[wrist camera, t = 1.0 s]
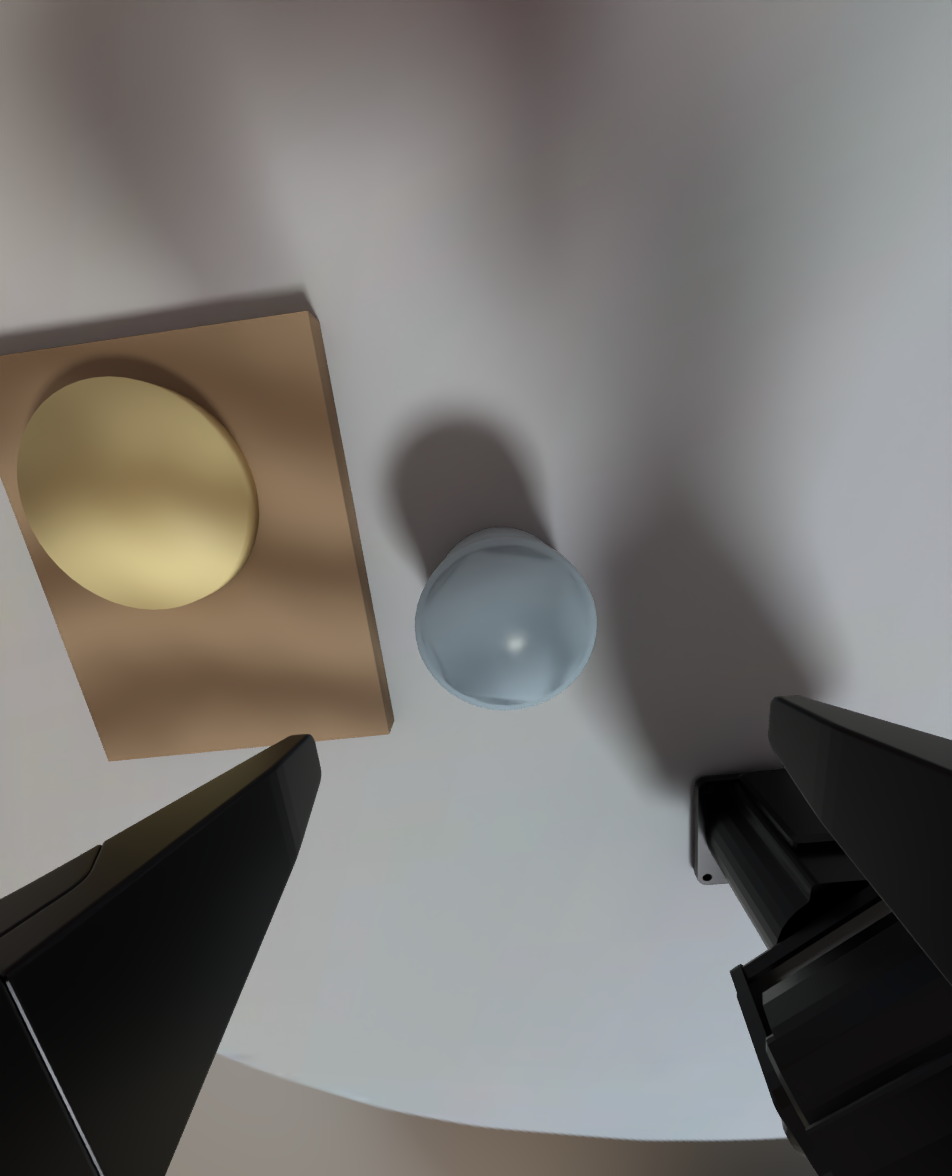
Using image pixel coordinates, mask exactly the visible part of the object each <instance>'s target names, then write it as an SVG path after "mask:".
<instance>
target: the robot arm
mask: <svg viewBox="0 0 952 1176" xmlns="http://www.w3.org/2000/svg"><path fill="white" fill-rule="evenodd" d="M768 737H769V742H770V745H771V747H772V749H773V751H774V752H775V754H776V755H777V757H778V758H779V760H780V761H781V763H782V764H783V766H784V767H785V769H780V770H769V771H758V772H747V773H736V774H724V775H713V776H704V777H700V778H699V779H698V780H697V781H696V782H695V826H694V872H695V875H696V877H697V879H698V881H699V882H700V883H701V884H703V885H713V884H726V883H729V885H730V886H731V888H732V890H733V891H734V893H735V895H736V896H737V898H738V900H739V901H740V903H741V905H742V907H743V908H744V910H745V912H746V913H747V915H748V917H749V918H750V920H751V922H752V923H753V925H754V927H755V928H756V930H757V932H758V933H759V935H760V937H761V938H762V940H763V942H764V944H765V945H766V947H767V949H768V950H767V951H765V952H764V953H762V954H761V955H759V956H757V957H756V958H754V959H753V960H751V961H750V962H748V963H747V964H745V965H744V966H743V965H742V964H740V965H738V966H736V967H735V968H733V969H732V970H730V974H731V977H732V980H733V982H734V985H735V988H736V991H737V998H738V1001H739V1004H740V1007H741V1010H742V1013H743V1016H744V1019H745V1022H746V1025H747V1028H748V1031H749V1034H750V1036H751V1039H752V1042H753V1045H754V1048H755V1051H756V1054H757V1057H758V1060H759V1063H760V1066H761V1069H762V1071H763V1074H764V1077H765V1080H766V1083H767V1086H768V1089H769V1092H770V1095H771V1098H772V1101H773V1103H774V1106H775V1108H776V1110H777V1112H778V1114H779V1115H780V1117H781V1119H782V1125H783V1129H784V1131H785V1134H786V1136H787V1138H788V1140H789V1141H790V1143H791V1145H792V1146H793V1147H794V1149H795V1150H796V1151H797V1152H798V1153H800V1154H801V1155H803V1156H804V1157H806V1158H807V1159H808V1160H809V1161H810V1163H811V1165H812V1166H813V1168H814V1169H815V1171H816V1172H817V1174H818V1175H819V1176H952V740H949V739H946V738H943V737H939V736H936V735H932V734H929V733H925V732H922V731H919V730H915V729H912V728H908V727H905V726H901V725H898V724H895V723H891V722H888V721H884V720H881V719H877V718H874V717H871V716H867V715H864V714H860V713H857V712H854V711H850V710H847V709H843V708H840V707H836V706H833V705H830V704H826V703H823V702H819V701H816V700H812V699H809V698H806V697H802V696H798V695H789V696H778V697H775V698H774V699H773V700H772V701H771V705H770V717H769V731H768ZM320 781H321V767H320V762H319V758H318V753H317V749H316V744H315V740H314V738H313V736H312V735H310V734H297V735H290V736H288V737H286V738H285V739H283V740H281V741H279V742H278V743H276V744H274V745H272V746H271V747H269V748H267V749H265V750H264V751H262V752H260V753H258V754H257V755H255V756H253V757H251V758H250V759H248V760H246V761H244V762H243V763H241V764H239V765H237V766H236V767H234V768H232V769H230V770H229V771H227V772H225V773H223V774H222V775H220V776H218V777H216V778H215V779H213V780H211V781H209V782H208V783H206V784H204V785H202V786H201V787H199V788H197V789H195V790H194V791H192V792H190V793H188V794H187V795H185V796H183V797H181V798H180V799H178V800H176V801H174V802H173V803H171V804H169V805H167V806H166V807H164V808H162V809H160V810H159V811H157V812H155V813H153V814H152V815H150V816H148V817H146V818H145V819H143V820H141V821H139V822H138V823H136V824H134V825H132V826H131V827H129V828H127V829H125V830H124V831H122V832H120V833H118V834H117V835H115V836H113V837H111V838H110V839H108V840H106V841H105V842H104V843H103V845H97V846H95V847H94V848H92V849H90V850H88V851H87V852H85V853H83V854H81V855H80V856H78V857H76V858H74V859H73V860H71V861H69V862H67V863H65V864H64V865H62V866H60V867H58V868H56V869H55V870H53V871H51V872H49V873H48V874H46V875H44V876H42V877H40V878H39V879H37V880H35V881H33V882H31V883H30V884H28V885H26V886H24V887H22V888H20V889H18V890H17V891H15V892H13V893H11V894H9V895H7V896H5V897H3V898H2V899H0V1176H165V1174H166V1172H167V1169H168V1167H169V1165H170V1162H171V1160H172V1157H173V1155H174V1153H175V1150H176V1148H177V1146H178V1143H179V1141H180V1138H181V1136H182V1134H183V1131H184V1129H185V1126H186V1124H187V1121H188V1119H189V1117H190V1114H191V1112H192V1110H193V1107H194V1105H195V1102H196V1100H197V1097H198V1095H199V1093H200V1090H201V1088H202V1085H203V1083H204V1080H205V1078H206V1076H207V1073H208V1071H209V1068H210V1066H211V1064H212V1061H213V1059H214V1057H215V1054H216V1052H217V1049H218V1047H219V1045H220V1042H221V1040H222V1037H223V1035H224V1033H225V1030H226V1028H227V1025H228V1023H229V1021H230V1018H231V1016H232V1013H233V1011H234V1008H235V1006H236V1004H237V1001H238V999H239V996H240V994H241V992H242V989H243V987H244V984H245V982H246V980H247V977H248V975H249V972H250V970H251V968H252V965H253V963H254V960H255V958H256V956H257V953H258V951H259V948H260V946H261V944H262V941H263V939H264V936H265V934H266V931H267V929H268V927H269V924H270V922H271V919H272V917H273V915H274V912H275V910H276V907H277V905H278V903H279V900H280V898H281V895H282V893H283V891H284V888H285V886H286V883H287V881H288V879H289V876H290V874H291V871H292V869H293V866H294V864H295V861H296V859H297V856H298V853H299V850H300V847H301V844H302V841H303V838H304V834H305V831H306V828H307V824H308V821H309V818H310V814H311V811H312V808H313V804H314V801H315V798H316V794H317V791H318V788H319V784H320ZM706 786H709V787H708V788H706V789H704V788H705V787H706Z"/></svg>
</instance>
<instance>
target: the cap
mask: <svg viewBox="0 0 952 1176" xmlns="http://www.w3.org/2000/svg"><path fill="white" fill-rule="evenodd" d="M596 631H597V617H596V609H595V605H594V601H593V598H592V595H591V593H590V590H589V588H588V586H587V584H586V582H585V581H584V579H583V578H582V576H581V575H580V574H579V572H578V571H577V570H576V569H575V567H574V566H573V565H572V564H571V563H570V562H569V561H568V560H567V559H566V558H564V557H563V556H562V555H561V554H560V553H558V552H557V551H555V550H554V549H553V548H551V547H549V546H547V545H546V544H545V543H544V542H543V541H541V540H540V539H538V538H537V537H535V536H534V535H532V534H530V533H528V532H525V531H522V530H519V529H514V528H508V527H494V528H488V529H484V530H481V531H477V532H475V533H473V534H471V535H469V536H467V537H466V538H464V539H462V540H461V541H460V542H459V543H458V544H456V545H455V546H454V547H453V548H452V549H451V551H450V552H449V553H448V554H447V556H446V557H445V559H444V560H443V561H442V562H441V563H440V564H439V566H438V567H437V568H436V569H435V570H434V572H433V573H432V575H431V576H430V578H429V580H428V581H427V583H426V585H425V587H424V589H423V591H422V593H421V596H420V599H419V602H418V605H417V611H416V616H415V633H416V641H417V645H418V649H419V652H420V654H421V657H422V660H423V661H424V663H425V665H426V667H427V669H428V670H429V672H430V673H431V674H432V676H433V677H434V678H435V679H436V680H437V682H438V683H439V684H440V685H441V686H442V687H444V688H445V689H446V690H447V691H448V692H450V693H451V694H453V695H454V696H456V697H457V698H459V699H461V700H463V701H465V702H467V703H469V704H472V705H475V706H478V707H482V708H487V709H492V710H517V709H523V708H528V707H531V706H535V705H538V704H540V703H543V702H545V701H547V700H549V699H551V698H553V697H554V696H556V695H558V694H559V693H560V692H562V691H563V690H564V689H566V688H567V687H568V686H569V685H570V684H571V683H572V682H573V681H574V680H575V679H576V678H577V676H578V675H579V674H580V673H581V671H582V670H583V668H584V667H585V665H586V663H587V661H588V659H589V657H590V655H591V653H592V649H593V646H594V643H595V637H596Z"/></svg>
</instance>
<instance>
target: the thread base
mask: <svg viewBox="0 0 952 1176" xmlns="http://www.w3.org/2000/svg"><path fill="white" fill-rule="evenodd" d="M0 477H1V480H2V482H3V485H4V488H5V490H6V493H7V495H8V498H9V501H10V503H11V506H12V509H13V511H14V514H15V516H16V519H17V522H18V524H19V527H20V530H21V532H22V535H23V537H24V540H25V543H26V545H27V548H28V551H29V553H30V556H31V558H32V561H33V564H34V566H35V569H36V572H37V574H38V577H39V579H40V582H41V585H42V587H43V590H44V593H45V595H46V598H47V600H48V603H49V606H50V608H51V611H52V614H53V616H54V619H55V621H56V624H57V627H58V629H59V632H60V635H61V637H62V640H63V642H64V645H65V648H66V650H67V653H68V656H69V658H70V661H71V663H72V666H73V669H74V671H75V674H76V677H77V679H78V682H79V685H80V687H81V690H82V692H83V695H84V698H85V700H86V703H87V706H88V708H89V711H90V713H91V716H92V719H93V721H94V724H95V727H96V729H97V732H98V734H99V737H100V740H101V742H102V745H103V748H104V750H105V753H106V755H107V758H108V761H118V760H129V759H139V758H149V757H159V756H170V755H180V754H190V753H201V752H211V751H221V750H231V749H242V748H252V747H262V746H272V745H274V744H276V743H278V742H279V741H281V740H283V739H285V738H286V737H288V736H290V735H297V734H310V735H312V736H313V738H314V740H315V741H324V740H334V739H344V738H355V737H365V736H375V735H385V734H389V733H390V731H391V728H392V725H393V722H394V716H393V711H392V706H391V700H390V695H389V690H388V685H387V679H386V674H385V669H384V663H383V658H382V653H381V647H380V642H379V637H378V631H377V626H376V621H375V615H374V610H373V605H372V600H371V594H370V589H369V584H368V578H367V573H366V568H365V562H364V557H363V552H362V546H361V541H360V536H359V530H358V525H357V520H356V515H355V509H354V504H353V499H352V493H351V488H350V483H349V477H348V472H347V467H346V461H345V456H344V451H343V445H342V440H341V435H340V430H339V424H338V419H337V414H336V408H335V403H334V398H333V392H332V387H331V382H330V376H329V371H328V366H327V360H326V355H325V350H324V345H323V339H322V334H321V329H320V323H319V321H318V320H317V319H316V318H315V317H314V316H313V315H312V314H311V313H309V312H308V311H301V312H295V313H288V314H281V315H274V316H267V317H260V318H254V319H247V320H240V321H233V322H226V323H219V324H213V325H206V326H199V327H192V328H185V329H178V330H172V331H165V332H158V333H151V334H144V335H137V336H131V337H124V338H117V339H110V340H103V341H96V342H90V343H83V344H76V345H69V346H62V347H55V348H49V349H42V350H35V351H28V352H21V353H14V354H7V355H1V356H0Z"/></svg>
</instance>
